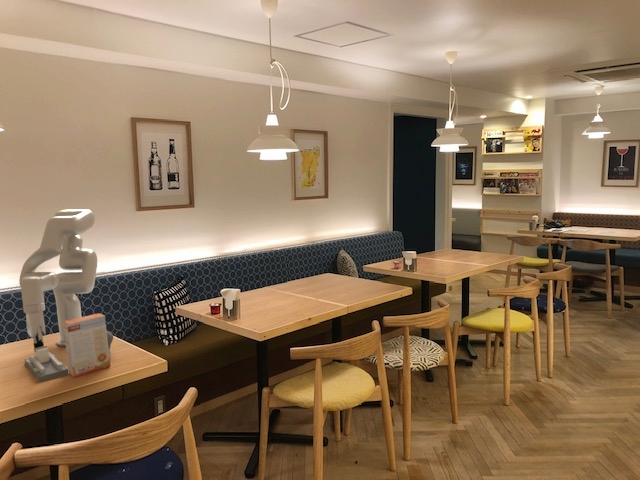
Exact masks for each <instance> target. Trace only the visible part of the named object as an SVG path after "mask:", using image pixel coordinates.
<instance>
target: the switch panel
mask: <svg viewBox="0 0 640 480" xmlns="http://www.w3.org/2000/svg"><path fill="white" fill-rule="evenodd" d="M49 359H50V361H48V362H44V363H40V362H39V361H38V360H37V359H36V356H35V355H34V354H29V357H28V358H25V359H24V365H25V366H26V367H27V368H28V370H29V371H30V372H31V373H32V375H33V376H34V377H35V378H36V379H37V381H38V383H39V382H43V381H48V380H52V379H55V378H59V377H60V378H61V377H63V376H67V375H69V368H67V366H66V365H64V364H63V363H62V361H61V360H60V359H58V357H57V356H56V355H55V354H54V353H52V352H50V351H49Z"/></svg>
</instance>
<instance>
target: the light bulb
mask: <svg viewBox="0 0 640 480" xmlns="http://www.w3.org/2000/svg"><path fill="white" fill-rule="evenodd" d="M107 339H108V348H109V354H111V345H112V342H113V340H114V335H113V334H112V332H110V331H109V330H107Z"/></svg>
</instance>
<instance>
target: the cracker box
mask: <svg viewBox="0 0 640 480" xmlns="http://www.w3.org/2000/svg"><path fill="white" fill-rule="evenodd" d="M63 328H64V336H65V344H66V346H65V350H66V358H67V365H68V368H67V369H68V374H70V376H72V377H73V378H76V377H79V376H82V375H86V374H89V373H93V372H96V371H100V370H102V369H106V368H109V367H111V361H110V360H111V358H110V357H111V356H110V353H109V348H108V339H107V331H108V330H107V324H106V316H105V315H104V314H103V313H94V314H89V315H86V316H82V317H81V318H76V319H72V320H67V321H63Z"/></svg>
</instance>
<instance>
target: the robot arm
mask: <svg viewBox="0 0 640 480" xmlns="http://www.w3.org/2000/svg"><path fill="white" fill-rule="evenodd" d="M95 221H96V218H95V214H94V212H93V211H92V210H91V209H86V208H85V209H79V208H78V209H62V210H59V211H56V212H55V213H54V216H52V217H50V218H49V219H48V220H47V221H46V225H45V228H44V232H43V235H42V239H41V243H40V246H39V248H38V249H37V250H35V251H34V252H32V254H31V255H30V256H29V257H28V258H27V259H26V260H25V261H24V264H23V265H22V267H21V268H22V269H21V271H20V275H19V281H18V282H19V287H20V290H21V300H22V307H23V313H24V314H26V315H25V316H26V318H25V319H26V331H27V335H29V337H30V338H31V339H33V350H34V353H35V354H36V351H35V348H38V347H42V346H45V345H44V337H45V335H46V324H45V318H44V317H45V316H44V311H45V310H46V305H45V304H46V303H45V294H44V293H45V292H47V291H53V294H54V295H53V296H54V297H55V305H56V313H57V322H58V323H57V324H58V330H59V338H58V339H57V340H56V344H57V345H58V346H61V347H66V344H65V336H64V328H63V321H67V320H72V319H76V318H81V317H83V316H82V309H81V301H80V299H79V297H78V296H77V295H76V294H79V295H81V294H82V295H83V294H89V293H91V292H93V289H94V288H95V282H96V275H97V268H98V256H97V253H96V251H95V250H94V249H91V248H83V237H82V234H84V233H85V232H87V231H88V230H90V229H91V228H92V227H93V226H94V223H95ZM56 257H59V258H58V259H59V260H58V265H59V268H60V269H61V270H64V271H65V272H59V273H55V272H53V271H36V270H37V268H39V266H41V265H42V264H44V263H46V262H48V261H50V260H52V259H54V258H56ZM66 271H69V272H66ZM70 271H71V272H70ZM72 271H73V272H72ZM74 271H76V272H74ZM77 271H78V272H77ZM43 336H44V337H43Z"/></svg>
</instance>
